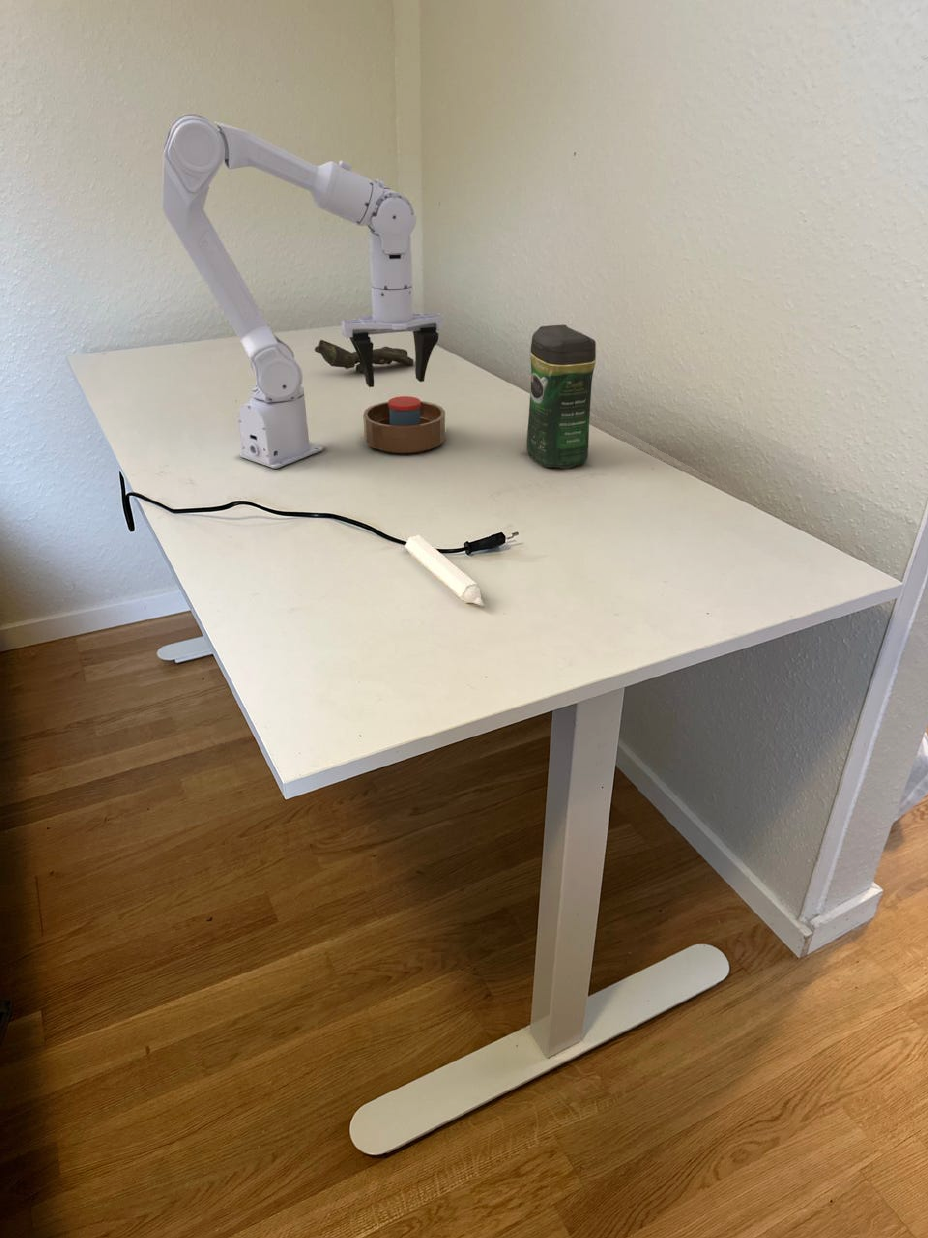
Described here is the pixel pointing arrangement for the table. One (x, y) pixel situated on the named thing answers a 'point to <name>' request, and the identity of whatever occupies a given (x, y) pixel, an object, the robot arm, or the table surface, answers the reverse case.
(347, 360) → the brown long irregular piece
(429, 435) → the bowl
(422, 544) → the marker
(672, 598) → the table surface
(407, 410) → the container
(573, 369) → the coffee jar
